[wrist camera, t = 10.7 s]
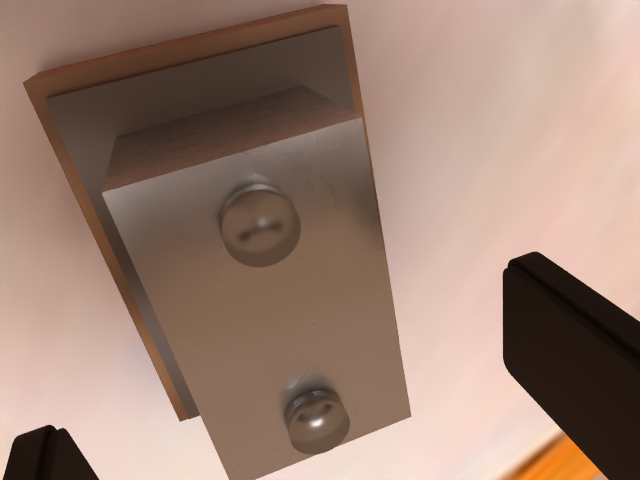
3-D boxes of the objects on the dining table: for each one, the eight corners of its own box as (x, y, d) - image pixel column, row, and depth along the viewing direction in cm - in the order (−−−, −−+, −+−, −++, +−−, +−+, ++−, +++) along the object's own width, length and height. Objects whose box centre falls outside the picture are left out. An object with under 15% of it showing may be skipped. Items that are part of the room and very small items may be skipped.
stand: (38, 72, 17) (17, 85, 14) (324, 4, 18) (353, 4, 16) (177, 384, 23) (180, 432, 21) (378, 312, 25) (405, 348, 22)
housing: (115, 136, 15) (98, 204, 10) (303, 84, 16) (373, 123, 11) (214, 378, 20) (236, 508, 15) (355, 327, 21) (421, 432, 16)
